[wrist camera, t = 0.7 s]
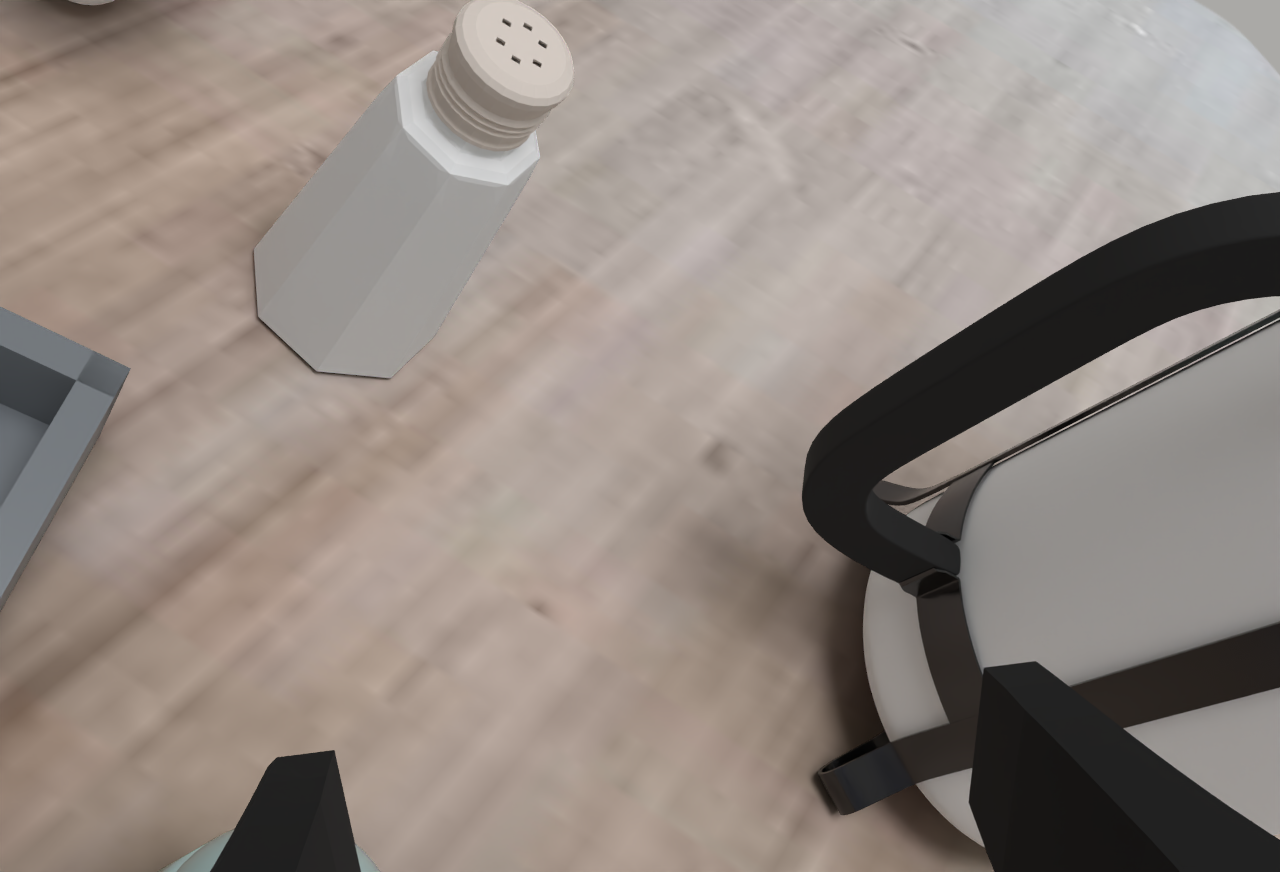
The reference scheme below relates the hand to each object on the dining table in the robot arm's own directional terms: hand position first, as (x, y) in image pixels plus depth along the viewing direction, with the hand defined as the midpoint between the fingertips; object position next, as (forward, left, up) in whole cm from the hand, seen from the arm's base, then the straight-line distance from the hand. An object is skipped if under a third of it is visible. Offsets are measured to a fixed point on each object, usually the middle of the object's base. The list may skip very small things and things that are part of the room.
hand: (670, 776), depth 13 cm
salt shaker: (+16, +4, -17) cm, 24 cm away
